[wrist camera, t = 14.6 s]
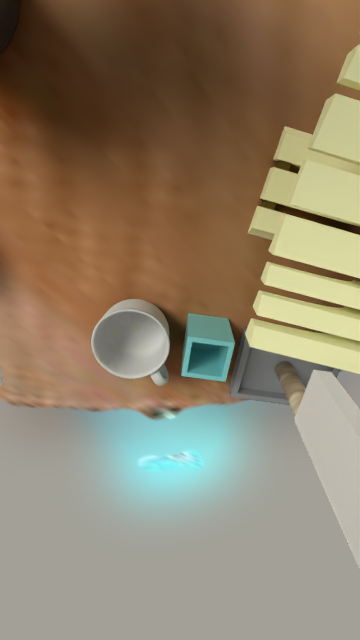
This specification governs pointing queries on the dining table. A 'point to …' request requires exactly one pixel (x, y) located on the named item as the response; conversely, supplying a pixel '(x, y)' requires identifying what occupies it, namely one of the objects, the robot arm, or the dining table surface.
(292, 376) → the dowel
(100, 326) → the teacup
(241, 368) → the tray
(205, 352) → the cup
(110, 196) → the dining table surface
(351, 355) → the slatted curved stool
